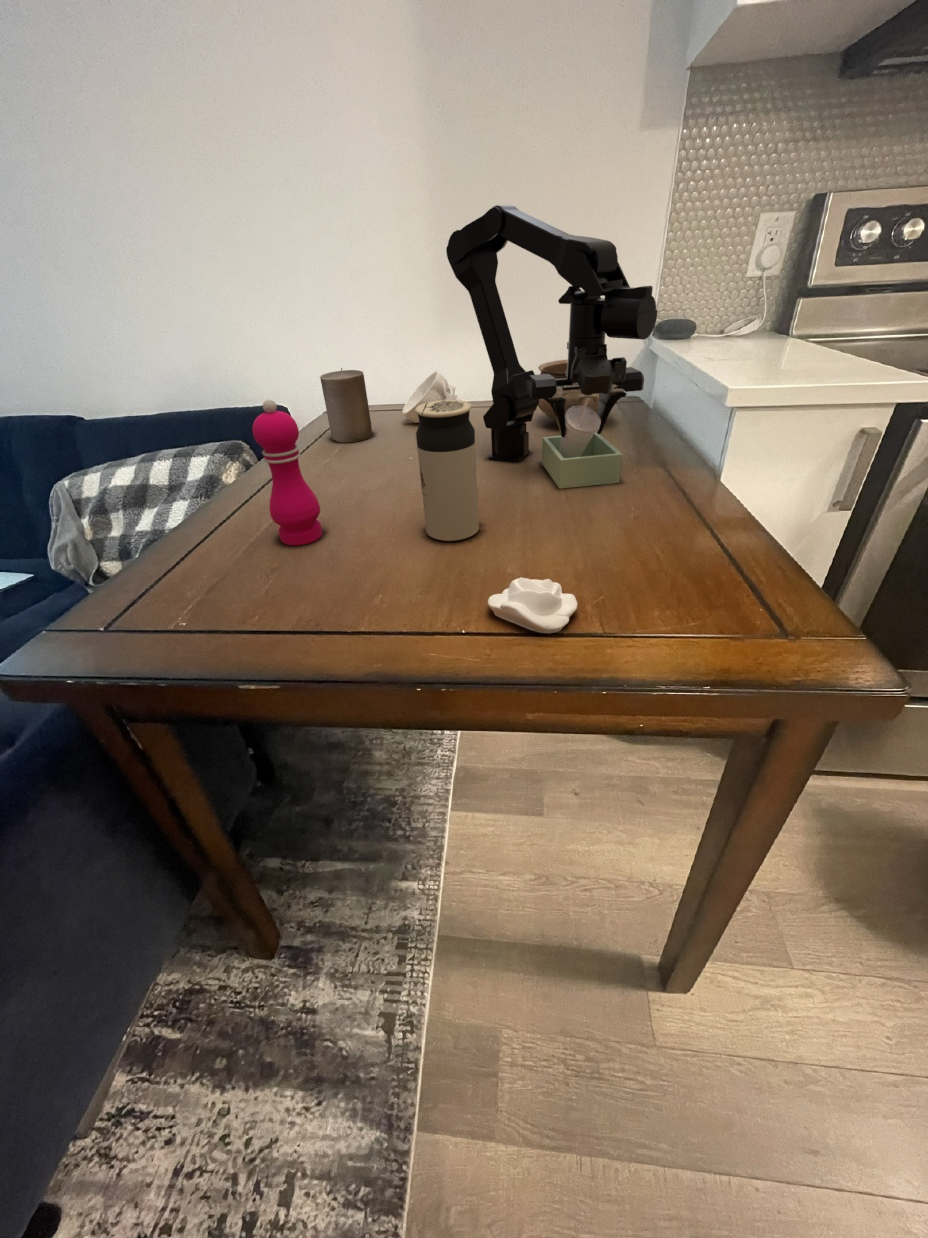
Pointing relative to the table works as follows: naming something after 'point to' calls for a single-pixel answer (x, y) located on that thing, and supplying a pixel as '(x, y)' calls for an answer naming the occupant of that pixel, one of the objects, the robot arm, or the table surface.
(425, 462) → the travel mug
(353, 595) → the table surface
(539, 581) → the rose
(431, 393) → the skull bowl
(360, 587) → the table surface
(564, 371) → the cooking pot
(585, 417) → the smoothie
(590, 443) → the bin
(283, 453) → the pepper mill
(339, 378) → the pillar candle
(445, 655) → the table surface
